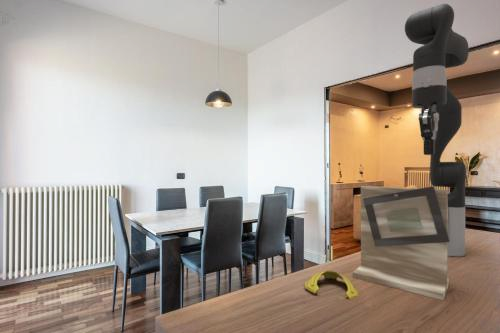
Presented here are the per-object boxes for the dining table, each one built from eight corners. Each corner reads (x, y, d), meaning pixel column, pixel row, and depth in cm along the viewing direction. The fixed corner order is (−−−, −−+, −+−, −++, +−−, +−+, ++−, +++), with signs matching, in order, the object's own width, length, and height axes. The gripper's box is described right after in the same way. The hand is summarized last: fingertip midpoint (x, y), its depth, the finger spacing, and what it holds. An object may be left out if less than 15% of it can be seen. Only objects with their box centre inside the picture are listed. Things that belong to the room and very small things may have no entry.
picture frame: (376, 245, 83) (364, 198, 85) (449, 240, 72) (433, 186, 74) (374, 247, 81) (362, 198, 83) (448, 242, 70) (432, 186, 72)
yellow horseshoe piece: (330, 277, 84) (330, 263, 84) (368, 294, 73) (368, 278, 73) (296, 287, 77) (296, 272, 77) (332, 308, 67) (332, 290, 66)
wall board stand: (366, 265, 92) (366, 185, 92) (449, 283, 78) (449, 188, 78) (352, 277, 83) (352, 188, 83) (443, 300, 69) (443, 192, 68)
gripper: (417, 94, 81) (417, 155, 81) (406, 85, 71) (406, 154, 71) (449, 89, 76) (449, 154, 76) (442, 79, 66) (442, 154, 66)
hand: (429, 154), depth 74 cm, fingers closed
